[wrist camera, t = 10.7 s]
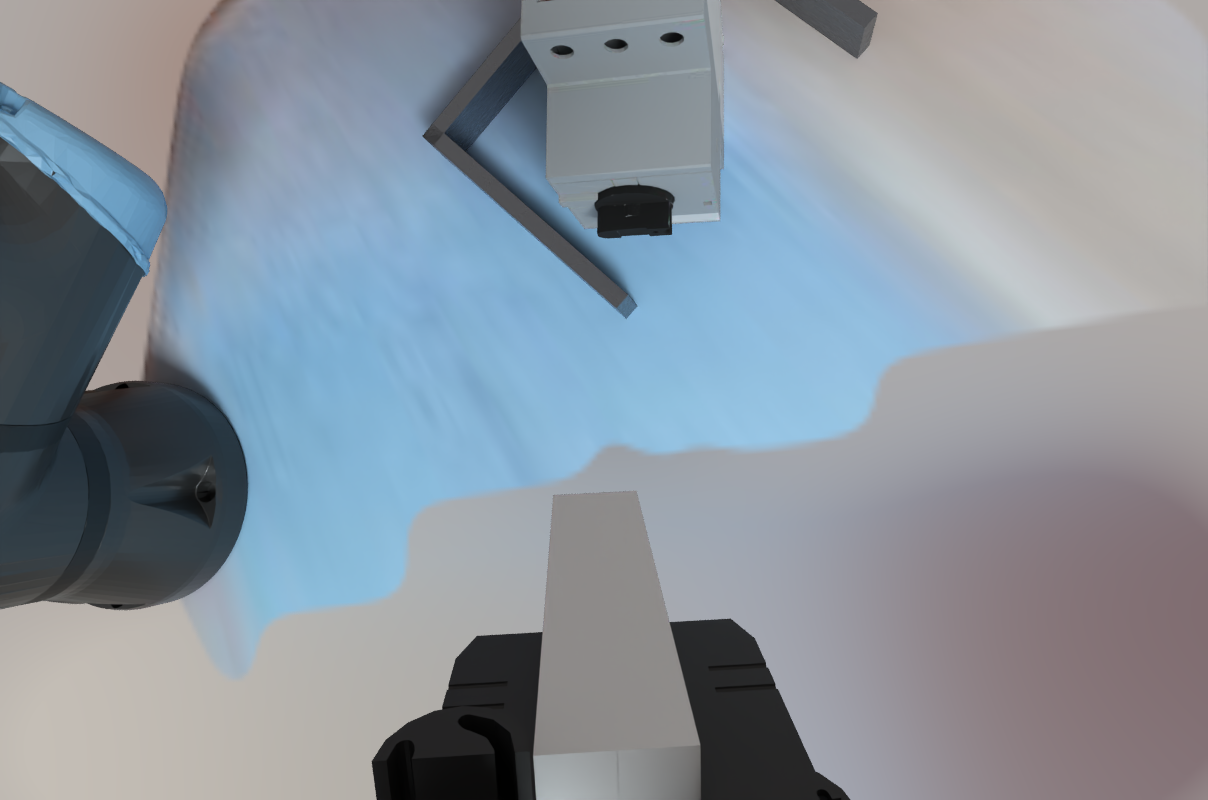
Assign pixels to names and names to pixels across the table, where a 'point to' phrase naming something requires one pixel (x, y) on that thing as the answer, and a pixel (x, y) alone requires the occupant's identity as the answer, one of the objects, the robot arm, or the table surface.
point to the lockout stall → (819, 3)
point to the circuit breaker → (631, 109)
